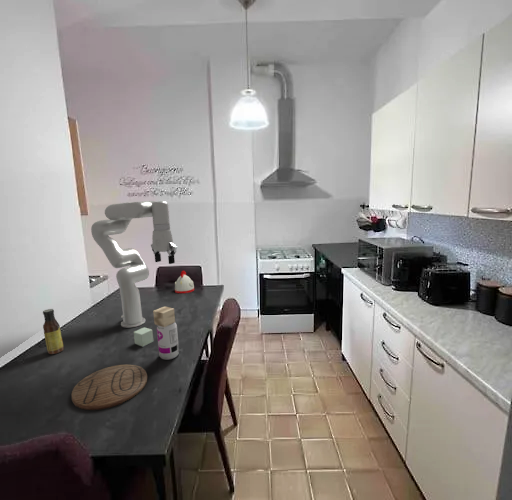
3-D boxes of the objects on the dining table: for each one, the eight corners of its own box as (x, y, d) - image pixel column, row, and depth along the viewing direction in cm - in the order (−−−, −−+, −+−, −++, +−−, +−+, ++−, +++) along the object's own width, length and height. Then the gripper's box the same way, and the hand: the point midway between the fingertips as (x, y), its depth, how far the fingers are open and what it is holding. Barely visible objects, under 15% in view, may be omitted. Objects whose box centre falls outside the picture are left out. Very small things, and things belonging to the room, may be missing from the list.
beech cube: (154, 324, 131) (153, 310, 130) (165, 319, 135) (164, 306, 134) (164, 327, 127) (162, 313, 126) (175, 321, 132) (174, 308, 131)
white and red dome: (171, 293, 222) (170, 273, 220) (179, 287, 236) (178, 268, 233) (190, 293, 220) (188, 273, 217) (197, 287, 233) (195, 268, 231)
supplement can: (161, 362, 129) (158, 328, 126) (158, 353, 136) (154, 321, 133) (181, 357, 132) (178, 324, 130) (176, 349, 140) (173, 317, 137)
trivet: (66, 420, 97) (65, 415, 97) (76, 378, 120) (76, 374, 120) (150, 397, 107) (149, 392, 106) (145, 363, 129) (144, 358, 129)
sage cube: (134, 343, 147) (133, 331, 146) (145, 338, 151) (144, 327, 150) (143, 346, 143) (141, 334, 142) (153, 341, 148) (152, 329, 147)
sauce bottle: (67, 349, 144) (60, 308, 140) (54, 355, 138) (47, 313, 134) (56, 347, 146) (50, 307, 142) (44, 353, 140) (37, 312, 136)
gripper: (143, 227, 150) (147, 262, 153) (168, 228, 140) (171, 265, 143) (156, 226, 156) (159, 259, 159) (180, 227, 146) (183, 262, 149)
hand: (164, 262), depth 151 cm, fingers open, 9 cm apart
